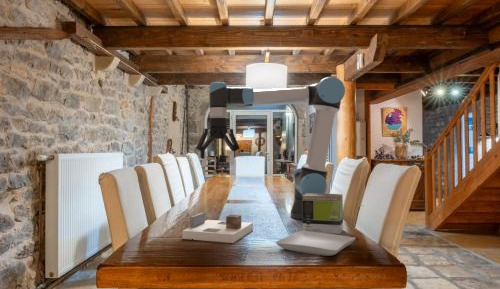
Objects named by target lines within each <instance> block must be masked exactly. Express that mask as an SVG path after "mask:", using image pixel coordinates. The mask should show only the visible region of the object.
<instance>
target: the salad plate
mask: <svg viewBox="0 0 500 289" xmlns="http://www.w3.org/2000/svg"><path fill="white" fill-rule="evenodd" d="M355 240H356V237H354V236H349V235H341V234H332V233H317V232H307V231H303V230H300V231H297V232H295V233H292V234H290V235H288V236H284V238H281V239H279V240H277V241H276V242H275V244H276V245H277V246H278V247H280V248H281V249H283V250H284V249H285V250H288V251H290V252H297V253H304V254H310V255H315V256H316V255H317V256H324V257H325V256H326V257H329V256H330V257H331V256H334V255H336V254H338V253H339V252H341V251H342V250H343V249H344V248H347V247H348V246H349V245H352V244H353V243H354V242H355Z"/></svg>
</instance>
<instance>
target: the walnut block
mask: <svg viewBox="0 0 500 289" xmlns="http://www.w3.org/2000/svg"><path fill="white" fill-rule="evenodd" d="M225 221H226V228H228V229H238V228H240V227H241V222H242V214H228V215H227V216H225Z"/></svg>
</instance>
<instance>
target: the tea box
mask: <svg viewBox="0 0 500 289" xmlns="http://www.w3.org/2000/svg"><path fill="white" fill-rule="evenodd" d="M343 199H344V198H343V194H342V193H325V194H321V193H307V194H305V195H303V196H302V219H301V220H302V223H301V225H302V231H307V232H317V233H327V234H335V235H341V233H342V232H343V228H344V215H343V214H344V210H343V209H344V207H343V206H344V203H343Z"/></svg>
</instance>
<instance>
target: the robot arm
mask: <svg viewBox="0 0 500 289" xmlns="http://www.w3.org/2000/svg"><path fill="white" fill-rule="evenodd" d="M345 94H346V87H345V84H344V83H343V81H342V80H341V79H340V78H338V77H335V76H327V77H324V78H321V80H320V81H319V82H317V83H314V84H306V85H305V86H304V87H290V88H287V87H286V88H272V89H271V88H270V89H268V88H267V89H254V87H249V86H237V87H236V86H235V87H234V86H232V87H230V86H227V82H222V81H221V82H220V81H214V82H211V83H210V84H209V94H208V95H209V117H210V118H209V128H203V129H202V134H201V136H200V138H199V140H198V143H197V145H196V147H195V149H196V150H198V151H199V152H200V160H201V164H202V165H201V166H202V167H203V168H204V167H207V151H206V150H207V148H208V147H209V146H210V144H211V143H212V142H213V140H223V141H224V142H225V143H226V145H227V146H228V147H229V149H230V150H229V166H235V159H236V153H237V152H236V151H237V150H240V146H239V143H238V141H237V138H236V137H235V134H234V129H233V128H228V129H227V126H228V122H227V121H228V119H227V116H228V112H227V111H228V110H227V109H228V108H227V107H228V106H227V105H235V106H236V107H238V108H245V107H258V106H259V107H261V106H279V105H283V106H284V105H302V104H304V105H306V106H308V107H309V106H313V108H314V109H315V112H314V118H313V122H312V123H313V124H312V128H311V133H310V134H311V135H310V139H309V144H308V149H307V156H306V160H305V163H303V165H301V168H296V169H294V173H293V180H294V181H293V183H294V184H293V185H294V186H293V188H294V189H293V190H294V191H293V193H294V194H293V195H294V197H293V203H292V207H291V210H290V217H291V218H292V219H296V220H297V219H298V220H302V196H303V195H305V194H307V193H321V194H326V192H327V189H328V182H327V176H328V171H329V170H328V169H327V168H326V163H327V157H328V152H329V146H330V142H331V136H332V132H333V127H334V126H333V125H334V120H335V116H336V113H338V112H339V111H340V108H341V104H342V100H343V98H344V96H345ZM208 134H210V135H209V136H208ZM227 134H228V135H227ZM207 136H208V138H207ZM206 139H207V140H206Z"/></svg>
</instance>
